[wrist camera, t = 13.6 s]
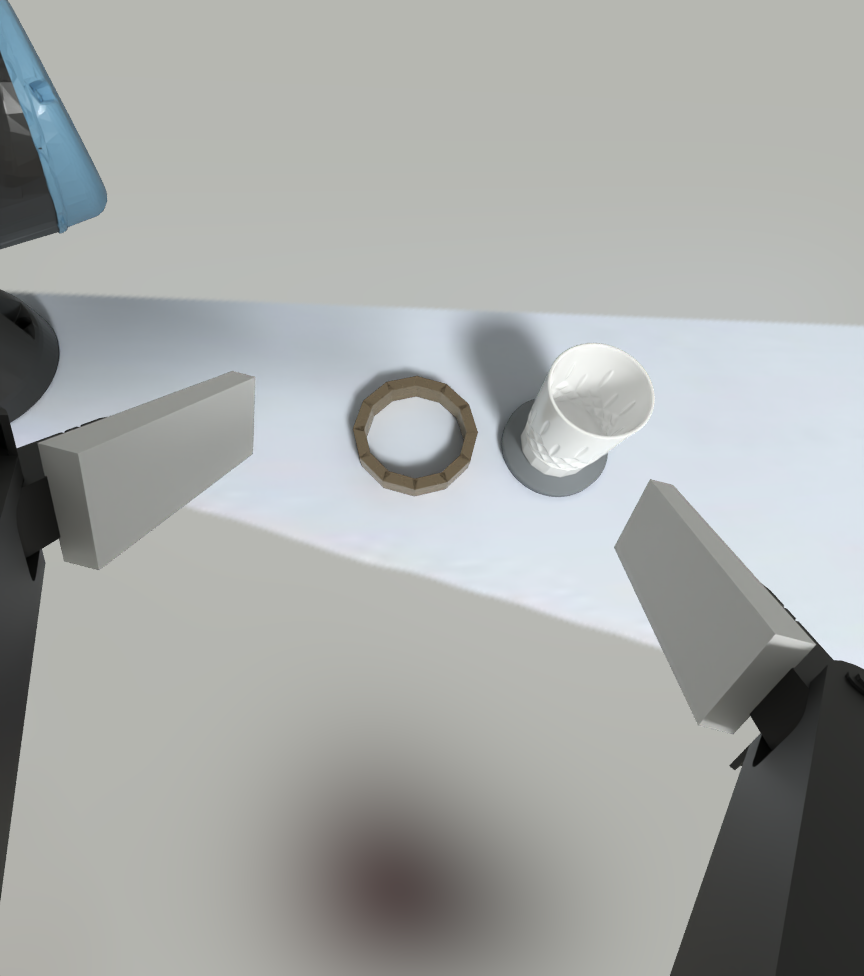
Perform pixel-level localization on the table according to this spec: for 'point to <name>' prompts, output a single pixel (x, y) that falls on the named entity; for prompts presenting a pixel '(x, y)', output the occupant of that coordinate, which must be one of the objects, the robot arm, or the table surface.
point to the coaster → (533, 476)
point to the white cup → (586, 408)
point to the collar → (426, 391)
